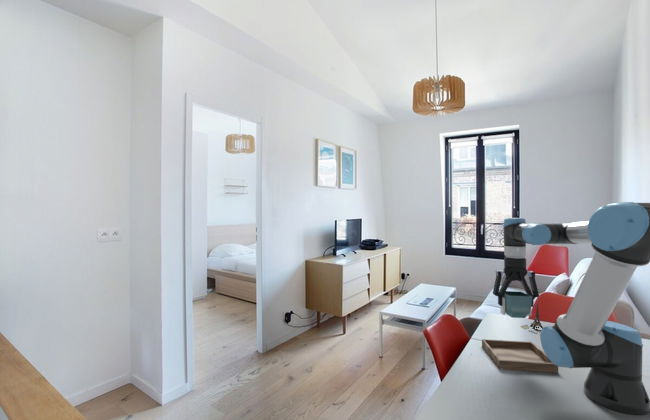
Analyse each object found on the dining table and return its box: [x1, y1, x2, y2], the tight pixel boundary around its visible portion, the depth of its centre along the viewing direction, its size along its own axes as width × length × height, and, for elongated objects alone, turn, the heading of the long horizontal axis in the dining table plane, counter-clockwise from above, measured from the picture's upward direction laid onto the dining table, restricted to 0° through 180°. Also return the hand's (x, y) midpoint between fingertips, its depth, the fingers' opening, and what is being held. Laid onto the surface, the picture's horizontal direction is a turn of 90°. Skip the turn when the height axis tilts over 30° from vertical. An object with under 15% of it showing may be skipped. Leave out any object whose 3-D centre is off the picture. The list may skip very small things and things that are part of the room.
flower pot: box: [503, 290, 532, 319], centre depth 128 cm, size 9×9×9 cm
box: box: [481, 338, 559, 374], centre depth 127 cm, size 20×20×3 cm
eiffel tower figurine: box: [520, 303, 544, 335], centre depth 159 cm, size 15×10×13 cm
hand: (515, 314), depth 128 cm, fingers closed on flower pot, 9 cm apart
